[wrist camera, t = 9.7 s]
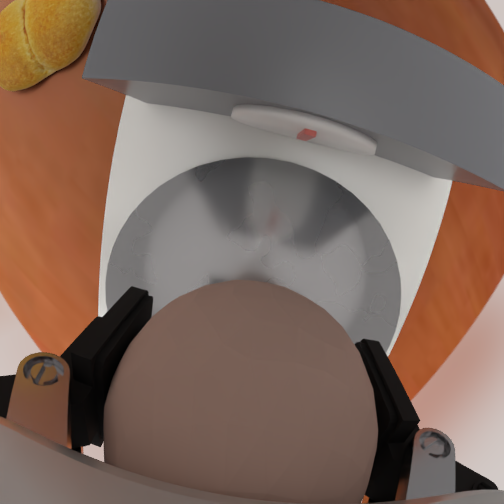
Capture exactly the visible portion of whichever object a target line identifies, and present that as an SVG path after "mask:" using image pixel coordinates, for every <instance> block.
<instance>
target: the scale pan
mask: <svg viewBox="0 0 504 504" xmlns="http://www.w3.org/2000/svg"><path fill="white" fill-rule="evenodd" d="M231 280H251V281H260V282H267V283H271V284H275V285H279V286H283V287H286V288H288V289H290V290H292V291H294V292H296V293H298V294H300V295H302V296H304V297H306V298H308V299H310V300H311V301H313V302H314V303H316V304H317V305H319V306H320V307H322V308H324V309H325V310H326V311H327V312H328V313H329V314H330V315H331V316H332V317H333V318H334V319H335V320H336V321H337V322H338V323H339V324H340V325H341V326H342V327H343V328H344V330H345V331H346V333H347V334H348V336H349V337H350V339H351V340H352V342H353V343H354V345H355V343H356V342H360V341H361V340H362V339H369V340H375V341H379V342H380V344H381V346H382V347H383V349H384V351H385V353H386V352H387V350H388V348H389V346H390V344H391V341H392V339H393V336H394V334H395V331H396V327H397V323H398V319H399V315H400V306H401V279H400V273H399V269H398V264H397V259H396V257H395V254H394V251H393V248H392V246H391V243H390V241H389V239H388V237H387V235H386V233H385V232H384V230H383V228H382V226H381V224H380V223H379V222H378V221H377V219H376V218H375V217H374V215H373V214H372V213H371V211H370V210H369V209H368V208H367V207H366V206H365V205H364V204H363V203H362V202H361V201H360V200H359V199H358V198H357V197H356V196H355V195H354V194H353V193H352V192H350V191H349V190H347V189H346V188H345V187H343V186H342V185H340V184H339V183H337V182H336V181H335V180H333V179H331V178H329V177H327V176H325V175H323V174H321V173H319V172H317V171H315V170H313V169H310V168H307V167H304V166H301V165H298V164H295V163H292V162H287V161H281V160H276V159H270V158H251V157H243V158H234V159H225V160H219V161H215V162H211V163H207V164H203V165H200V166H197V167H195V168H192V169H190V170H188V171H185V172H183V173H180V174H178V175H177V176H175V177H173V178H172V179H170V180H168V181H167V182H165V183H163V184H162V185H160V186H159V187H158V188H157V189H155V190H154V191H153V192H152V193H151V194H149V195H148V196H147V197H146V198H145V199H144V200H143V201H142V202H141V203H140V204H139V205H138V206H137V207H136V209H135V210H134V211H133V212H132V213H131V214H130V216H129V217H128V219H127V221H126V222H125V224H124V225H123V227H122V228H121V230H120V232H119V234H118V236H117V238H116V241H115V243H114V245H113V247H112V251H111V254H110V258H109V262H108V266H107V273H106V281H105V292H106V305H107V311H108V310H109V309H110V308H111V307H112V306H113V305H114V304H115V303H116V302H117V301H118V300H119V299H120V297H121V296H122V295H123V294H124V293H125V292H126V291H127V290H128V289H129V288H130V287H131V286H133V287H136V288H140V289H144V290H147V291H148V293H149V296H153V307H152V316H153V315H155V314H156V313H157V312H158V311H160V310H161V309H162V308H163V307H165V306H166V305H167V304H168V303H170V302H171V301H173V300H174V299H176V298H178V297H179V296H182V295H184V294H186V293H189V292H191V291H193V290H196V289H198V288H200V287H202V286H205V285H209V284H214V283H220V282H225V281H231ZM151 318H152V317H151Z"/></svg>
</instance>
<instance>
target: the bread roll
mask: <svg viewBox="0 0 504 504" xmlns="http://www.w3.org/2000/svg"><path fill="white" fill-rule="evenodd" d="M100 11H101V0H15V1H13V2H12V3H10V4H9V5H8V6H7V7H6V8H5V9H4V10H3V11H2V12H1V13H0V86H1V87H2V88H4V89H5V90H8V91H18V90H22V89H26V88H29V87H31V86H33V85H35V84H37V83H38V82H40V81H41V80H43V79H44V78H46V77H47V76H49V75H50V74H52V73H54V72H55V71H57V70H60V69H62V68H64V67H66V66H68V65H69V64H70V63H72V62H73V61H75V60H76V59H77V58H78V57H79V56H80V55H81V53H82V52H83V50H84V49H85V47H86V45H87V42H88V40H89V38H90V35H91V33H92V31H93V28H94V26H95V23H96V22H97V19H98V17H99V14H100Z"/></svg>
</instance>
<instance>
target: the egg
mask: <svg viewBox="0 0 504 504" xmlns="http://www.w3.org/2000/svg"><path fill="white" fill-rule="evenodd" d="M103 432H104V463H107V464H110V465H113V466H115V467H118V468H121V469H124V470H127V471H130V472H133V473H136V474H139V475H142V476H146V477H149V478H152V479H156V480H160V481H163V482H167V483H171V484H175V485H179V486H183V487H187V488H192V489H196V490H201V491H206V492H211V493H216V494H222V495H228V496H234V497H241V498H248V499H256V500H264V501H274V502H287V503H304V504H360V503H361V501H362V499H363V497H364V495H365V492H366V490H367V486H368V483H369V479H370V475H371V471H372V467H373V462H374V458H375V454H376V449H377V439H378V424H377V415H376V407H375V399H374V391H373V387H372V385H371V382H370V379H369V376H368V374H367V371H366V368H365V366H364V363H363V360H362V358H361V355H360V352H359V351H358V349H357V348H356V346H355V345H354V343H353V342H352V340H351V339H350V337H349V336H348V334H347V333H346V331H345V330H344V328H343V327H342V326H341V325H340V324H339V323H338V322H337V321H336V320H335V319H334V318H333V317H332V316H331V315H330V314H329V313H328V312H327V311H326V310H325V309H324V308H322V307H320V306H319V305H317V304H316V303H314V302H313V301H311V300H310V299H308V298H306V297H304V296H302V295H300V294H298V293H296V292H294V291H292V290H290V289H288V288H286V287H283V286H279V285H275V284H271V283H267V282H260V281H251V280H231V281H225V282H220V283H214V284H209V285H205V286H202V287H200V288H198V289H196V290H193V291H191V292H189V293H186V294H184V295H182V296H179V297H178V298H176V299H174V300H173V301H171V302H170V303H168V304H167V305H166V306H165V307H163V308H162V309H161V310H160V311H158V312H157V313H156V314H155V315H153V316H152V318H151V319H150V320H149V321H148V322H147V323H146V325H145V326H144V327H143V328H142V329H141V331H140V332H139V333H138V334H137V336H136V337H135V338H134V339H133V340H132V342H131V343H130V344H129V346H128V348H127V350H126V352H125V353H124V355H123V357H122V359H121V361H120V363H119V365H118V367H117V370H116V372H115V374H114V376H113V378H112V381H111V384H110V388H109V391H108V395H107V399H106V402H105V406H104V422H103Z"/></svg>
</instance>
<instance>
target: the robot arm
mask: <svg viewBox="0 0 504 504" xmlns="http://www.w3.org/2000/svg"><path fill="white" fill-rule="evenodd" d="M152 307H153V296H149V293H148V291H147V290H144V289H140V288H136V287H133V286H131V287H130V288H129V289H128V290H127V291H126V292H125V293H124V294H123V295H122V296H121V297H120V299H119V300H118V301H117V302H116V303H115V304H114V305H113V306H112V307H111V308H110V309H109V310H108V311H107V312H106V314H105V315H104V316H103V317H100V316H98V317H96V318H95V319H94V320H93V321H92V322H91V323H90V324H89V325H88V326H87V328H86V329H85V330H84V331H83V332H82V333H81V334H80V335H79V336H78V337H77V338H76V339H75V341H74V342H73V343H72V344H71V345H70V346H69V347H68V348H67V349H66V350H65V352H64V353H63V354H62V355H61V356H60V357H59V356H57V355H55V354H51V353H47V352H39V353H35V354H31V355H29V356H27V357H25V358H24V359H23V360H22V361H21V362H20V364H19V366H18V369H17V373H16V375H8V376H0V504H304V503H287V502H274V501H264V500H256V499H248V498H241V497H234V496H228V495H222V494H216V493H211V492H206V491H201V490H196V489H192V488H187V487H183V486H179V485H175V484H171V483H167V482H163V481H160V480H156V479H152V478H149V477H146V476H142V475H139V474H136V473H133V472H130V471H127V470H124V469H121V468H118V467H115V466H113V465H110V464H107V463H104V462H102V461H99V460H97V459H94V458H92V457H89V456H86V455H84V454H83V446H87V445H90V444H94V445H96V446H99V447H101V445H102V443H103V441H104V432H103V422H104V406H105V402H106V399H107V395H108V391H109V388H110V384H111V381H112V378H113V376H114V374H115V372H116V370H117V367H118V365H119V363H120V361H121V359H122V357H123V355H124V353H125V352H126V350H127V348H128V346H129V344H130V343H131V342H132V340H133V339H134V338H135V337H136V336H137V334H138V333H139V332H140V331H141V329H142V328H143V327H144V326H145V325H146V323H147V322H148V321H149V320H150V319H151V317H152ZM355 346H356V348H357V349H358V351H359V352H360V355H361V358H362V360H363V363H364V366H365V368H366V371H367V374H368V376H369V379H370V382H371V385H372V387H373V391H374V399H375V407H376V415H377V424H378V439H377V449H376V454H375V458H374V462H373V467H372V471H371V475H370V479H369V483H368V486H367V490H366V492H365V495H364V497H363V500H362V503H361V504H504V491H502V490H498V488H497V486H496V485H495V484H494V483H493V482H492V481H490V480H489V479H487V478H485V477H483V476H481V475H480V474H478V473H476V472H474V471H473V470H471V469H469V468H467V467H466V466H463V465H462V464H460V463H459V462H457V461H455V448H454V444H453V443H452V441H451V440H450V438H449V437H448V436H447V435H446V434H444V433H443V432H441V431H439V430H437V429H433V428H423V429H419V427H418V425H417V424H418V423H419V421H420V419H419V417H418V415H417V413H416V411H415V409H414V407H413V405H412V403H411V401H410V399H409V397H408V395H407V393H406V391H405V389H404V387H403V385H402V383H401V381H400V379H399V378H398V376H397V374H396V372H395V370H394V368H393V366H392V364H391V362H390V360H389V359H388V357H387V355H386V353H385V351H384V349H383V347H382V346H381V344H380V342H379V341H375V340H369V339H362V340H361V341H360V342H356V343H355Z"/></svg>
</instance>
